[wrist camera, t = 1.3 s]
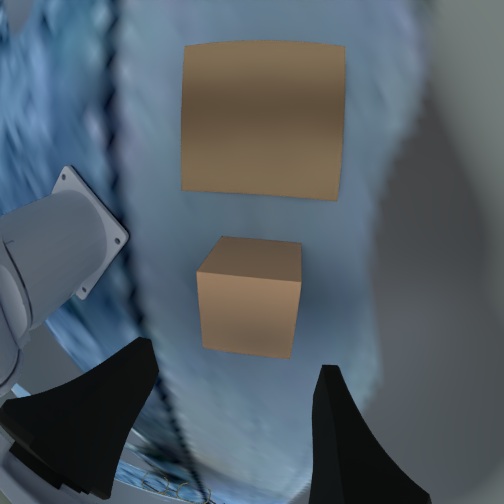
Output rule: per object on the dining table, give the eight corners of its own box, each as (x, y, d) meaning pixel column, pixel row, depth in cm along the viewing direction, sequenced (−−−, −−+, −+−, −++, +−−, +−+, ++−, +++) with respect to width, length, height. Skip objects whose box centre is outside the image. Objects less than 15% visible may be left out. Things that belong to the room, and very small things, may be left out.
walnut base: (330, 190, 16) (337, 201, 13) (200, 181, 17) (181, 190, 14) (337, 61, 13) (345, 46, 10) (202, 59, 14) (184, 46, 11)
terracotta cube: (293, 309, 19) (290, 359, 15) (223, 301, 20) (203, 347, 15) (301, 242, 17) (301, 282, 13) (222, 235, 18) (196, 271, 13)
